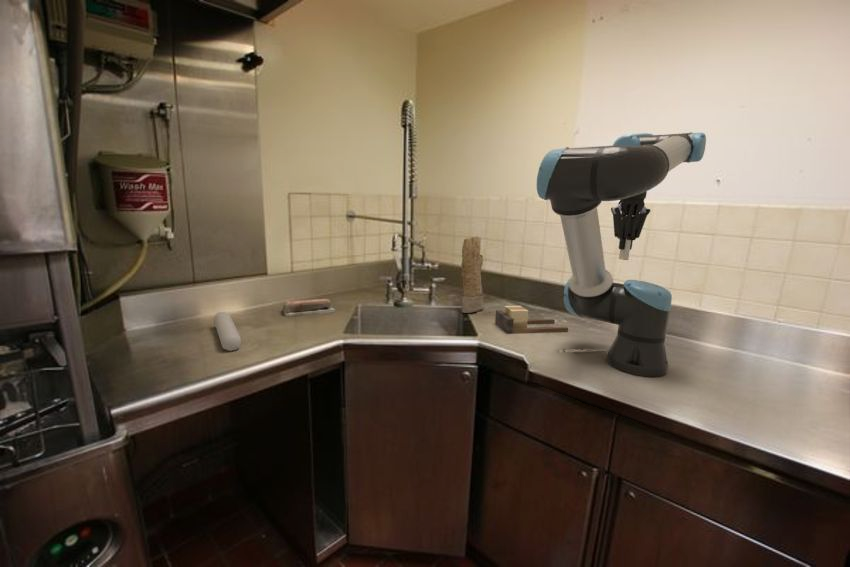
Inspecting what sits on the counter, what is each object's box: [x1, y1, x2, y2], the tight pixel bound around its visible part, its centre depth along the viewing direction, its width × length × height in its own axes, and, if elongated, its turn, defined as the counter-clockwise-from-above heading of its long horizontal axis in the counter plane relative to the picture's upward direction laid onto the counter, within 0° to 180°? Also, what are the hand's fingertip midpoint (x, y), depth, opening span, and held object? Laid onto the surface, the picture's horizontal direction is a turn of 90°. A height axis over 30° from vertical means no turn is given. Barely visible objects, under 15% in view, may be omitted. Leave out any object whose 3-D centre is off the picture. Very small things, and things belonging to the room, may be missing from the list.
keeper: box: [503, 305, 530, 328], centre depth 136 cm, size 6×6×7 cm
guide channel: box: [494, 309, 569, 335], centre depth 137 cm, size 12×22×6 cm, turn 101°
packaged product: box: [281, 298, 336, 318], centre depth 150 cm, size 18×5×10 cm
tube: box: [213, 311, 242, 352], centre depth 119 cm, size 5×5×25 cm
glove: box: [460, 235, 485, 314], centre depth 158 cm, size 14×10×30 cm
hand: (623, 259), depth 131 cm, fingers closed
